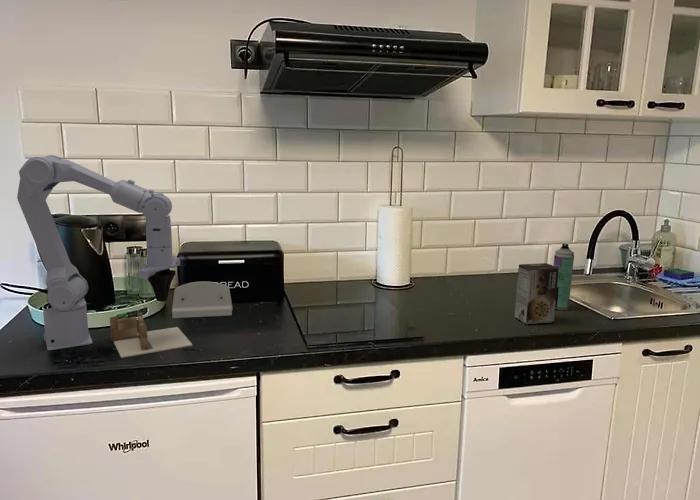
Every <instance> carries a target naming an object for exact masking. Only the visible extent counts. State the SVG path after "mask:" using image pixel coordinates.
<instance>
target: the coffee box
mask: <svg viewBox="0 0 700 500" xmlns="http://www.w3.org/2000/svg"><path fill="white" fill-rule="evenodd" d="M517 272H518V273H517V282H516V284H517V285H516V294H515V295H516V296H515V308H514V309H515V310H514V318H515V317H516V318H518V319H520V320H521V321H523V322H525V323H530V322H542V321H554V322H555V316H556V315H555V314H556V310H555V306H556V294H557V283H558V272H559V268H556V267H554V265H552V264H549V263H547V262H545V263H542V262H541V263H525V264H524V263H522V264H518V271H517Z"/></svg>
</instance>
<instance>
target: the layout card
mask: <svg viewBox="0 0 700 500" xmlns="http://www.w3.org/2000/svg"><path fill="white" fill-rule="evenodd" d="M147 340H148V347H147V348H144V349H143V348H141V347H140V337H139V333H138V337H132V338H125V339H119V340H118V341H112V342H113V344H114V346H115V348H116V350H117V352H118V354H119V357H120V358H121V359H123V358H128V357H134V356H140V355H146V354H152V353H153V354H154V353H157V352H165V351H169V350H175V349H181V348H186V347H193V344H192V342H191V340H189V338H188V337H187V336H186V335H185V334H184V332H182V330H181V329H180V328H179V327H178V326H176V327H175V326H174V327H168V328H162V329H155V330H149V331H148V330H147Z"/></svg>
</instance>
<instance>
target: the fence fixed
mask: <svg viewBox="0 0 700 500" xmlns="http://www.w3.org/2000/svg"><path fill="white" fill-rule="evenodd" d="M109 324H110V325H109V327H110V341H112V342H113V341H118V340H119V339H125V338H132V337H138V317H137V316H132V317H126V318H125V317H124V318H119V317H118V316H111V317H109Z"/></svg>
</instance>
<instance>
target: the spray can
mask: <svg viewBox="0 0 700 500" xmlns="http://www.w3.org/2000/svg"><path fill="white" fill-rule="evenodd" d="M553 258H554V259H553V266H554V267H556V268H559V272H558V283H557V294H556V306H555V307H558V308H565V307H568V306H569V307H570V298H571V288H572V279H573V270H574V260H575V252H574V251H573V250H571V248H570V247H569V244H568V243H562V244H561V247H559V249H557V250H555V253H554V257H553Z"/></svg>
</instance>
